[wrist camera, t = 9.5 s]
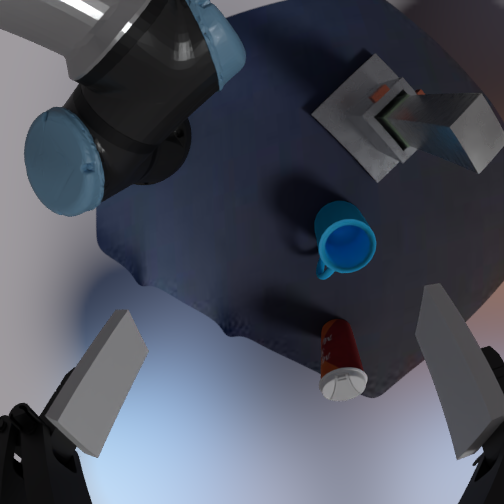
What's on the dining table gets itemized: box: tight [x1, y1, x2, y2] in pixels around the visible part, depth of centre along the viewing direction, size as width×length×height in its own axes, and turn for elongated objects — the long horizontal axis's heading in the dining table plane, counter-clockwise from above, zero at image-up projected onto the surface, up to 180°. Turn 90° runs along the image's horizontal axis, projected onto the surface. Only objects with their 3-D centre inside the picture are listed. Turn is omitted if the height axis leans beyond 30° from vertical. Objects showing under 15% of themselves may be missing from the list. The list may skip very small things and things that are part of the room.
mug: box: [314, 201, 376, 280], centre depth 43 cm, size 12×8×8 cm
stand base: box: [311, 54, 425, 183], centre depth 32 cm, size 14×14×12 cm
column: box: [374, 93, 504, 174], centre depth 22 cm, size 4×4×19 cm
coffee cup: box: [319, 319, 367, 401], centre depth 49 cm, size 8×8×15 cm
